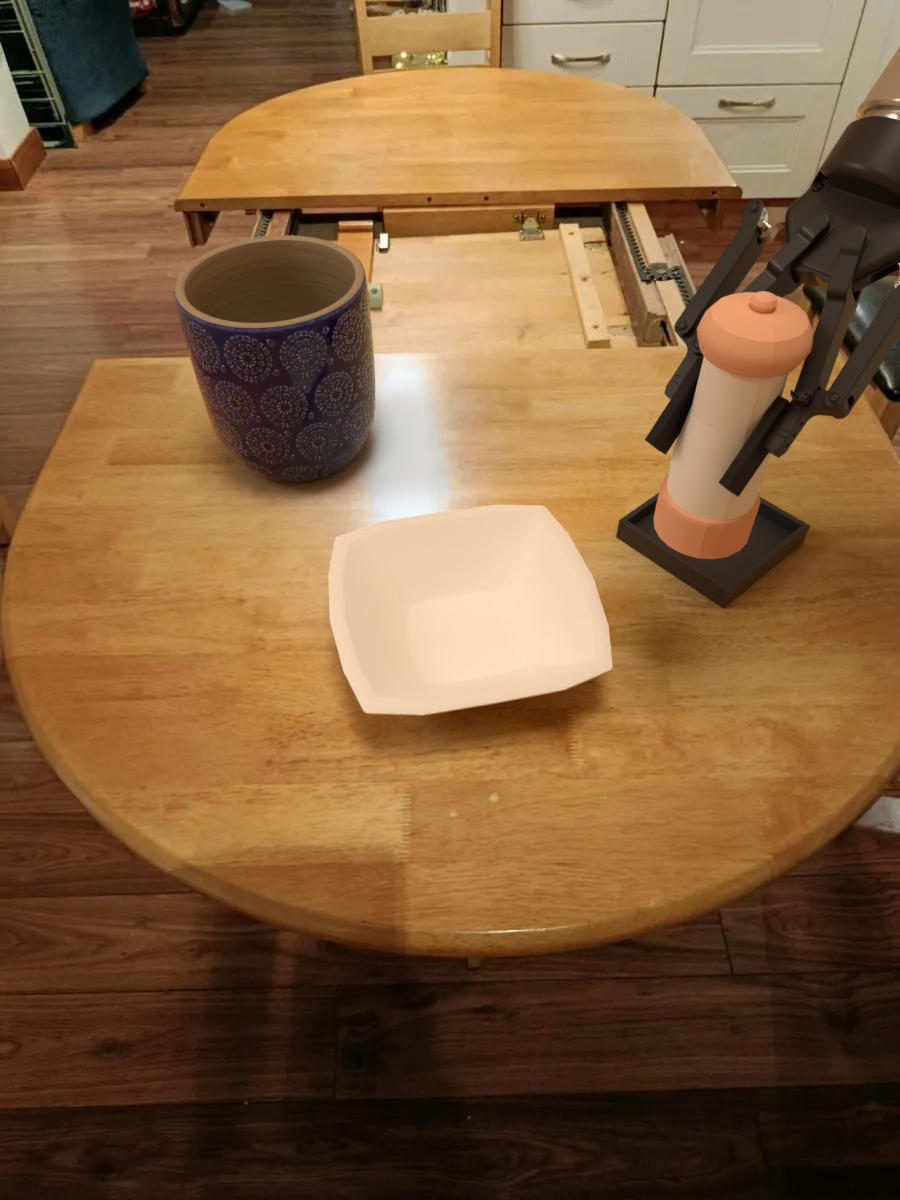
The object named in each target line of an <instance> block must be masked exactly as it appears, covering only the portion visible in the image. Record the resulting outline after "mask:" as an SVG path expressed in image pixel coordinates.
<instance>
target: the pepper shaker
mask: <svg viewBox="0 0 900 1200" xmlns="http://www.w3.org/2000/svg"><path fill="white" fill-rule="evenodd" d="M811 324H812V323H811V321H810V319H809V316H808V314H807V313H806V311H804V309H803V308H802V307H801V306H800V305H798V304H797V303H795V302H793V301H791V300H789V299H786V298H785V297H783V298H781V297H778V296H776V295H774V294H772V293H770V292H766V291H760V292H757V293H756V292H744V293H741V292H737V293H736V292H735V293H734V294H731V295H728V296H725V297H723V298H721V299H720V300H718V301H717V302H716V303H714V304H713V305H712V306H711V307H710V308H709V309H708V310H707V311H706V312H705V313H704V315H703V317H702V319H701V321H700V323H699V325H698V327H697V336H698V342H699V348H700V351H701V353H702V354H703V355H704V358H703V362H702V366H701V370H700V374H699V378H698V383H697V387H696V391H695V395H694V399H693V403H692V406H691V408H690V411H689V413H688V415H687V417H686V420H685V422H684V424H683V427H682V429H681V431H680V434H679V436H678V437H677V439H676V440H675V442H674V444H673V445H674V446H673V449H672V453H671V459H670V464H669V470H668V473H667V474H666V475H664V477H663V479H662V482H661V484H660V486H659V491H658V493H659V495H658V500H657V504H656V509H655V513H654V528H655V530H656V532H657V534H658V536H659V537H660V539H661V540H662V541H664V542H665V543H666V544H667V545H668V546H669V547H670V548H672V549H674V550H676V551H678V552H680V553H682V554H684V555H688V556H691V557H695V558H701V559H718V558H724V557H728V556H730V555H732V554H735V553H737V552H739V551H740V550H741V549H742V548H743V547H744V546H745V545H746V543H747V541H748V538H749V535H750V532H751V529H752V526H753V524H754V521H755V518H756V515H757V512H758V509H759V505H760V502H761V501H760V497H761V496H760V489H761V487H762V484H763V482H764V479H765V476H766V473H767V471H768V468H769V464H770V461H771V454H770V453H768V455H767V456H766V458H765V459H764V461H763V462H762V464H761V465H760V466H759V468H758V469H757V471H756V472H755V474H754V475H753V477H752V478H751V480H750V481H749V482H748V484H747V485H746V487H745V488H744V490H743V491H742V493H741V494H740V496H739V497H738V496H736V495H734V494H733V493H731V492H729V491H728V490H727V489H726V488H724V487H723V486H722V485H721V484H720V483H719V481H720V480H721V478H722V477H723V475H724V474H725V472H726V471H727V469H728V468H729V466H730V465H731V463H732V462H733V460H734V459H735V457H736V456H737V455H738V453H739V452H740V450H741V449H742V447H743V446H744V444H745V443H746V441H747V440H748V438H749V437H750V435H751V434H752V432H753V431H754V429H755V428H756V427H757V425H758V424H759V422H760V421H761V419H762V418H763V416H764V415H765V413H766V412H767V410H768V409H769V407H770V406H771V404H772V403H773V401H774V400H775V399H776V398H777V396H778V395H779V396H781V397H783V394H784V390H785V387H786V383H787V380H788V378H789V374H790V373H791V372H793V371H794V370H795V369H796V368H798V366H800V365H801V364H802V363H804V361H805V359H806V357H807V356H808V355H809V353H810V352H811V348H812V345H813V336H814V329H813V327H812V325H811Z"/></svg>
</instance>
